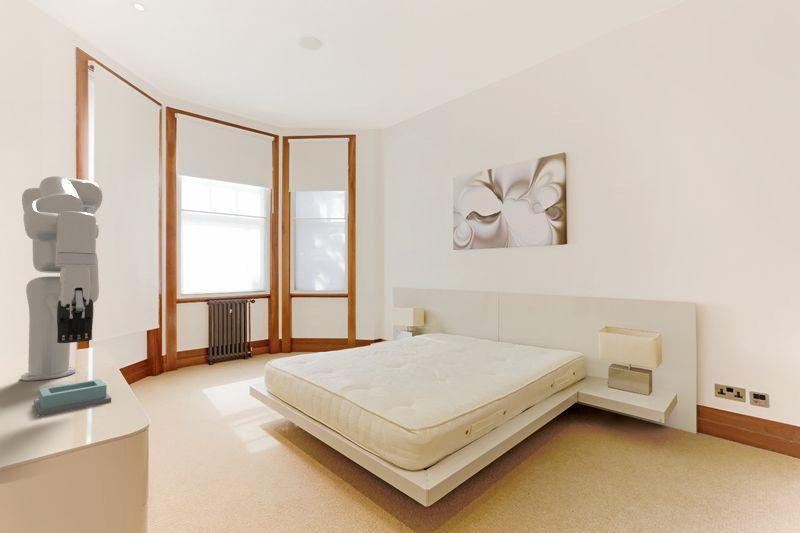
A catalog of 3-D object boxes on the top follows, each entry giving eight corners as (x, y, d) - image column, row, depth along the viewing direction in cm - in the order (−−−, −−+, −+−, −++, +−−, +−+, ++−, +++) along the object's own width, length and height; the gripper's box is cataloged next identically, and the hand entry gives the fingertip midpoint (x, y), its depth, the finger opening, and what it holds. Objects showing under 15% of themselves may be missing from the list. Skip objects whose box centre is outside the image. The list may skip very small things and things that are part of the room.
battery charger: (55, 344, 88) (56, 297, 88) (55, 343, 90) (57, 297, 91) (93, 341, 92) (94, 296, 93) (92, 339, 95) (93, 295, 96)
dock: (34, 404, 90) (34, 388, 90) (101, 391, 100) (101, 377, 100) (38, 416, 82) (39, 398, 82) (111, 401, 92) (111, 385, 92)
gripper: (51, 261, 95) (50, 332, 94) (60, 259, 84) (58, 339, 83) (89, 262, 100) (87, 329, 100) (102, 260, 89) (100, 335, 89)
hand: (74, 333), depth 92 cm, fingers closed on battery charger, 4 cm apart
